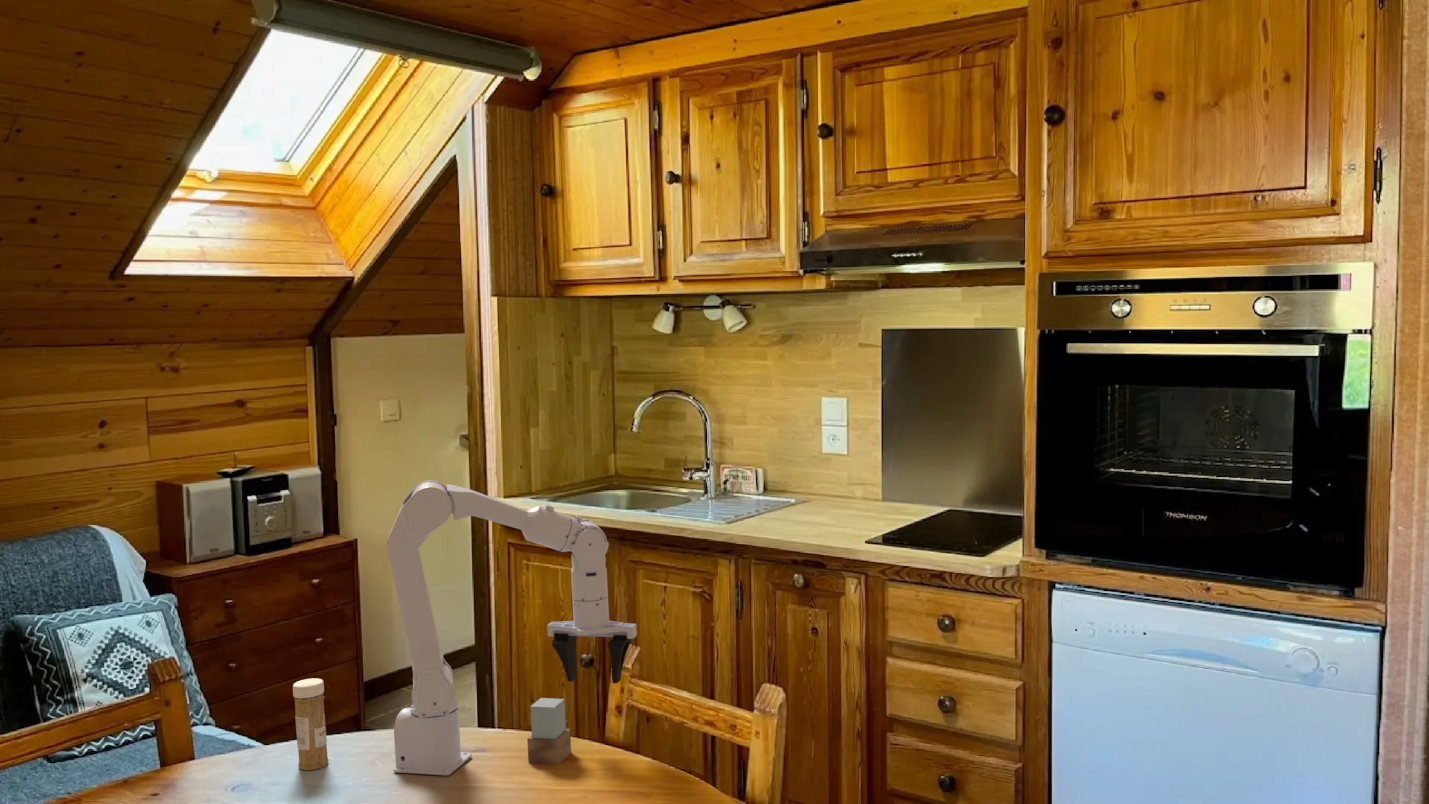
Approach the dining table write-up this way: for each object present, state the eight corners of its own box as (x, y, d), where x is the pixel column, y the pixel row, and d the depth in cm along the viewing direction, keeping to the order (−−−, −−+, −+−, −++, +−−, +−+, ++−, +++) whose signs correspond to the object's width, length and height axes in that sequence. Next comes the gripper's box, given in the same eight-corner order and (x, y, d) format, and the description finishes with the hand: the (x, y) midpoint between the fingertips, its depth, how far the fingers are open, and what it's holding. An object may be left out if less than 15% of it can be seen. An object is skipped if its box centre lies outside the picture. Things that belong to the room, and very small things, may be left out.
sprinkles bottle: (331, 766, 170) (326, 682, 169) (301, 773, 168) (296, 688, 167) (324, 757, 174) (319, 675, 173) (295, 764, 172) (289, 681, 171)
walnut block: (528, 763, 169) (527, 738, 168) (542, 751, 173) (541, 727, 173) (558, 766, 167) (556, 740, 167) (571, 753, 172) (570, 729, 172)
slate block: (532, 738, 168) (530, 706, 168) (542, 728, 172) (540, 697, 172) (556, 739, 167) (554, 707, 167) (566, 730, 171) (564, 698, 171)
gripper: (538, 602, 172) (542, 686, 172) (624, 604, 168) (629, 690, 169) (555, 591, 178) (559, 673, 179) (639, 593, 175) (643, 676, 176)
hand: (594, 680), depth 174 cm, fingers open, 7 cm apart
